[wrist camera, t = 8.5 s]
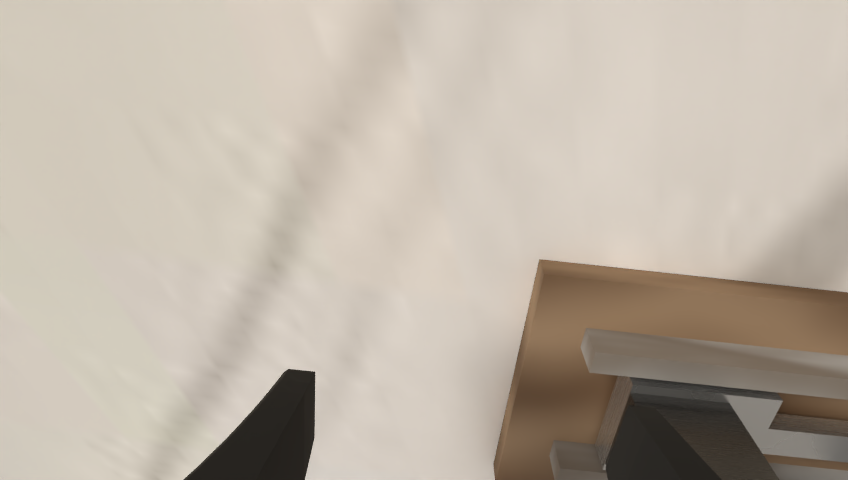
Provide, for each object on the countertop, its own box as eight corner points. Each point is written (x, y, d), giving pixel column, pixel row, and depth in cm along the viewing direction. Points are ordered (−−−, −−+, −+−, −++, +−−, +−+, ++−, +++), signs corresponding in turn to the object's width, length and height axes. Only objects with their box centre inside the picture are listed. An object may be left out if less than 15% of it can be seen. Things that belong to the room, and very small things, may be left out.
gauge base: (859, 502, 28) (962, 634, 22) (493, 463, 28) (504, 587, 22) (993, 308, 22) (1173, 419, 17) (539, 259, 22) (569, 355, 17)
